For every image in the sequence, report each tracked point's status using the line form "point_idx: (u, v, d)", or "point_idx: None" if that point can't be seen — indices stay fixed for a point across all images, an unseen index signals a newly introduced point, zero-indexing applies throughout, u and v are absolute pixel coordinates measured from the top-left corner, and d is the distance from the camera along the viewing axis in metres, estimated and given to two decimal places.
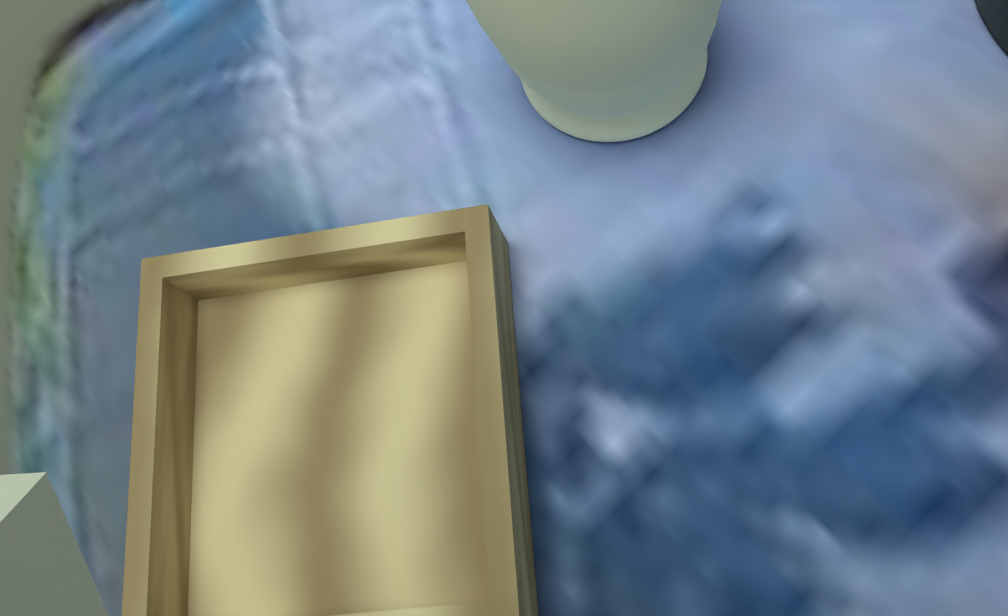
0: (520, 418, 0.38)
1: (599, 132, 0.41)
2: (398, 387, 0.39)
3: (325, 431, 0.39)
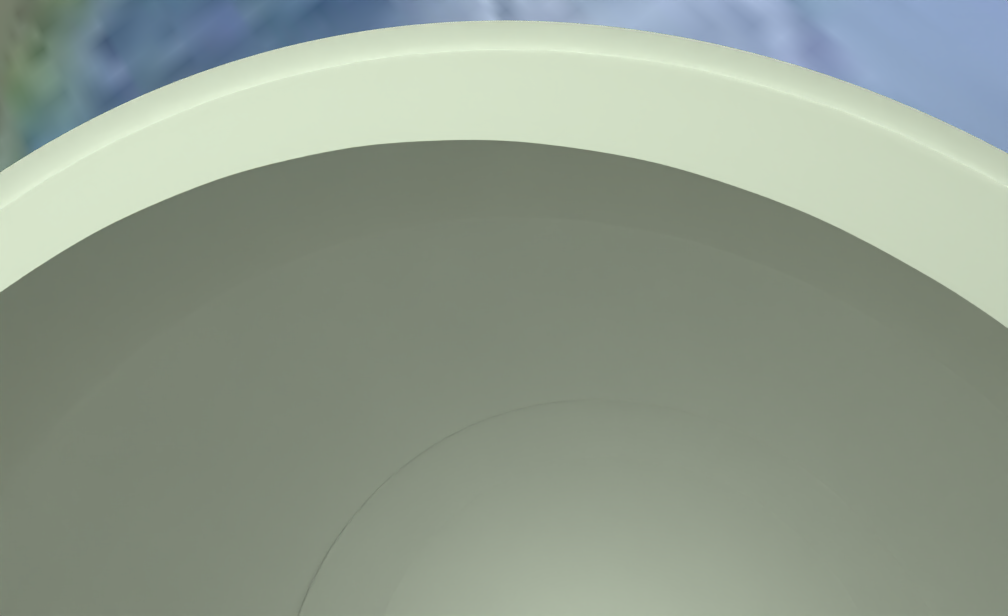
0: None
1: None
2: None
3: None
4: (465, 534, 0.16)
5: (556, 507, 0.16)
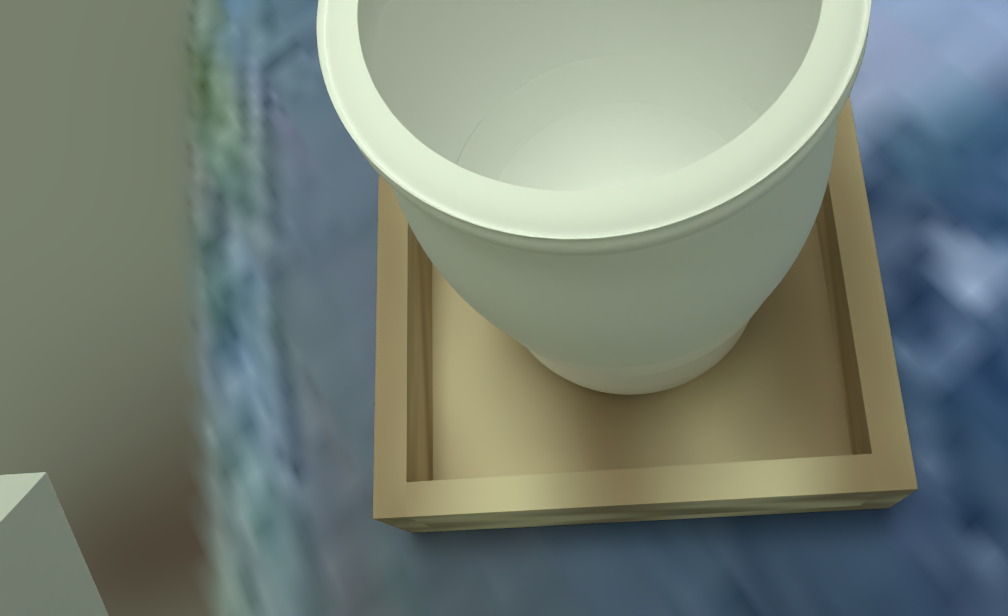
0: None
1: (610, 384, 0.29)
2: None
3: None
4: (535, 152, 0.30)
5: (585, 139, 0.30)
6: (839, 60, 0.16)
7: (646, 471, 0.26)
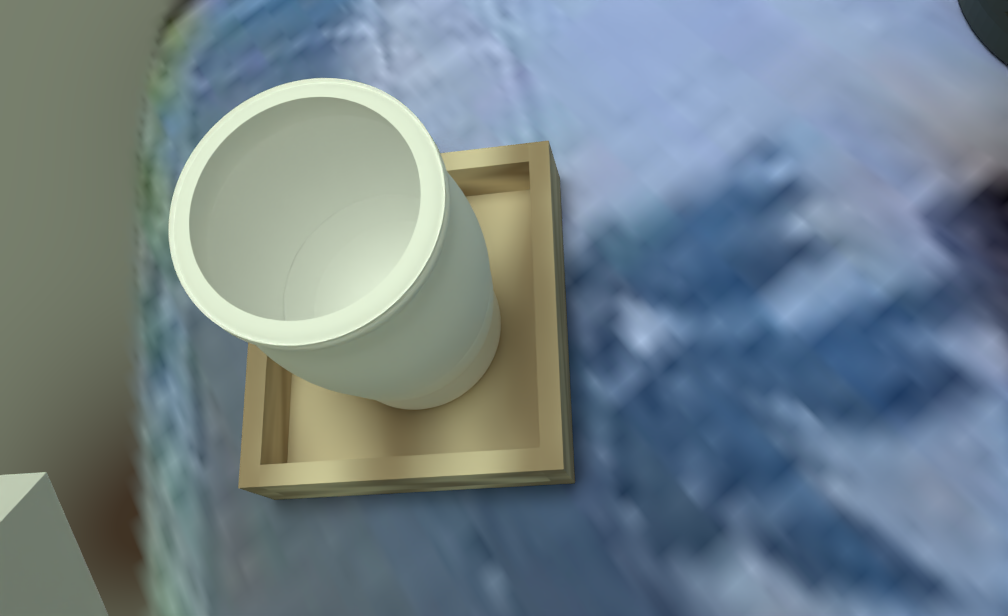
0: (565, 317, 0.47)
1: (400, 403, 0.45)
2: None
3: None
4: (350, 252, 0.45)
5: (382, 243, 0.45)
6: (422, 252, 0.32)
7: (406, 458, 0.42)
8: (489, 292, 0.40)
